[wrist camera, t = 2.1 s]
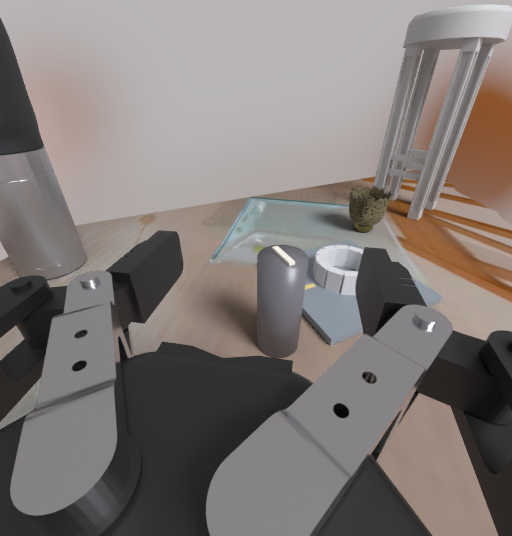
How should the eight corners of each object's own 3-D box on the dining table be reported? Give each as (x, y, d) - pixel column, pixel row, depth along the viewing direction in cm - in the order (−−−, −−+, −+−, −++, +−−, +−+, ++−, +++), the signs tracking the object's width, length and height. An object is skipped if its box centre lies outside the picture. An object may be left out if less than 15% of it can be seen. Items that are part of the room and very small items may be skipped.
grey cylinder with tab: (250, 333, 32) (249, 247, 26) (284, 322, 33) (291, 238, 27) (268, 363, 28) (272, 272, 22) (305, 349, 30) (319, 260, 24)
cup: (336, 224, 58) (343, 186, 54) (366, 220, 60) (375, 184, 55) (357, 239, 52) (366, 198, 48) (389, 235, 54) (401, 195, 49)
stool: (384, 193, 76) (428, 27, 57) (446, 208, 66) (523, 15, 48) (356, 206, 67) (396, 15, 48) (423, 225, 57) (506, -4, 39)
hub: (260, 266, 44) (260, 244, 42) (348, 244, 50) (352, 224, 48) (330, 345, 30) (335, 318, 28) (439, 302, 36) (451, 277, 34)
